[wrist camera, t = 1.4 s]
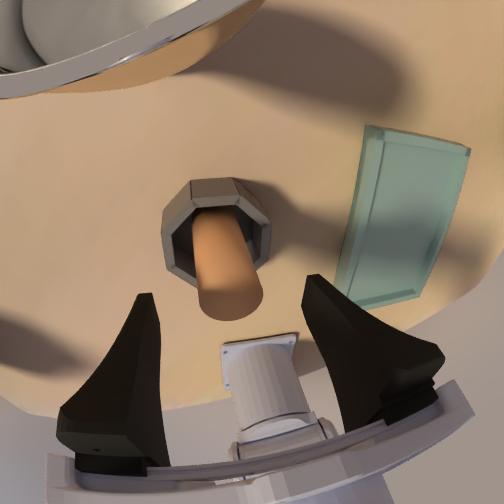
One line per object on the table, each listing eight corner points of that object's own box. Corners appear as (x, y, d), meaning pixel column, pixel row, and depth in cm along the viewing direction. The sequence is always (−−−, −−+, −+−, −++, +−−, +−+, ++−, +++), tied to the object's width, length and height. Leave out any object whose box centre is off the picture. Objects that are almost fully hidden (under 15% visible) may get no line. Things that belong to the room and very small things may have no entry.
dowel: (234, 234, 21) (261, 316, 15) (192, 238, 20) (201, 324, 14) (234, 196, 19) (265, 270, 13) (189, 200, 19) (196, 277, 12)
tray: (412, 289, 31) (419, 297, 30) (326, 307, 29) (332, 317, 27) (460, 143, 21) (471, 148, 20) (365, 124, 18) (376, 129, 17)
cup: (257, 257, 23) (267, 282, 21) (170, 266, 22) (170, 292, 19) (261, 176, 19) (274, 193, 17) (160, 182, 18) (156, 201, 16)
